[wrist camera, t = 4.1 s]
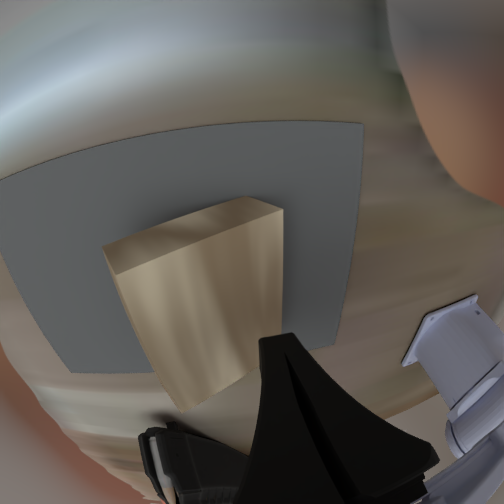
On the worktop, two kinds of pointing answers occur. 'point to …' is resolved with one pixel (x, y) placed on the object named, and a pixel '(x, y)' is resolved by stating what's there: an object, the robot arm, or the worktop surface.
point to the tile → (203, 294)
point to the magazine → (190, 467)
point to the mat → (174, 206)
